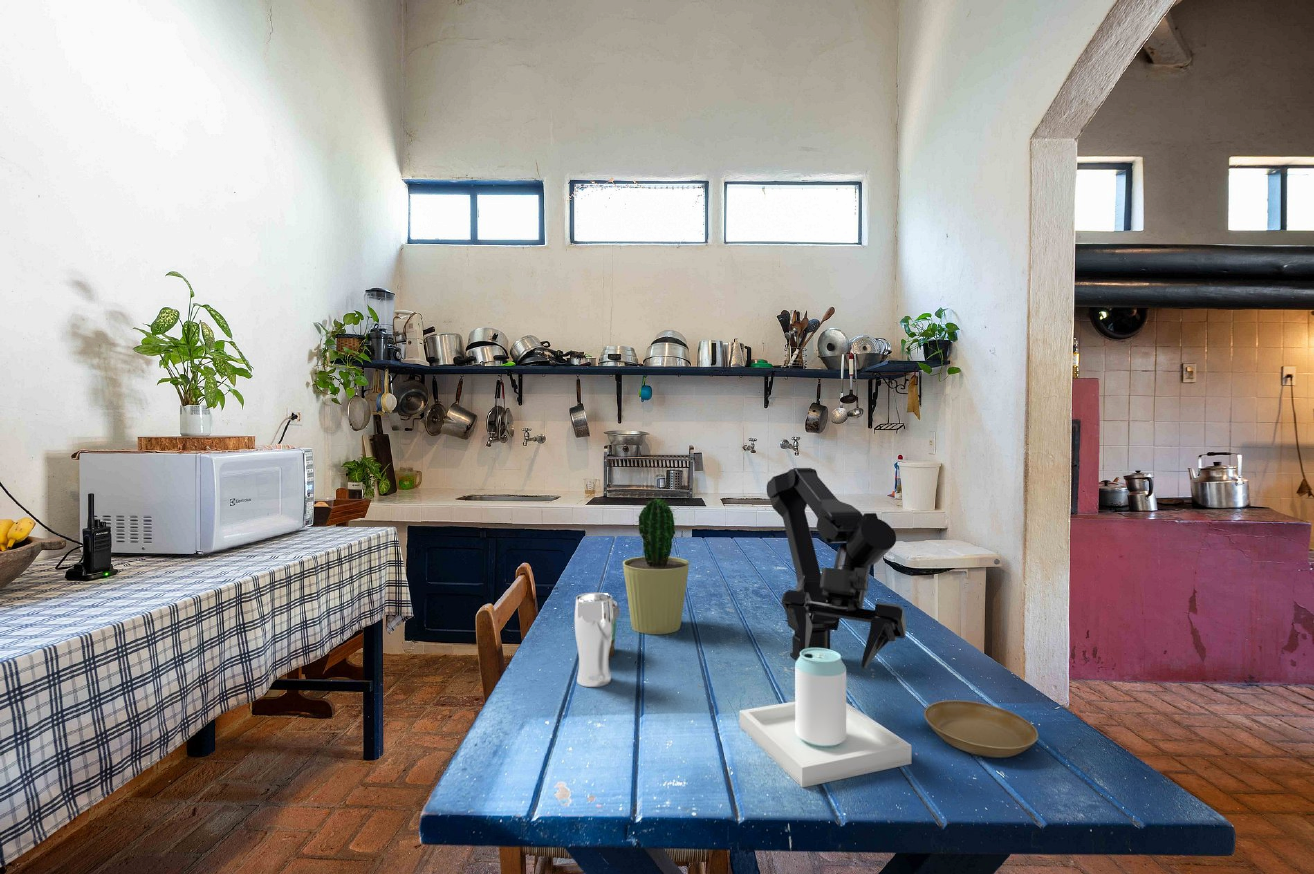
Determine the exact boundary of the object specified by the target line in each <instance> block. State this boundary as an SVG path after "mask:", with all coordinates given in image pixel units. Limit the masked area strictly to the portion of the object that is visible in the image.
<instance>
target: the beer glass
mask: <svg viewBox="0 0 1314 874" xmlns="http://www.w3.org/2000/svg"><path fill="white" fill-rule="evenodd" d="M612 600H613V595H611V594H610V593H605V592H585V593H581V594H578V595H577V596H576V597H575V607H574V633H575V635H574V636H575V641H576V645H577V652H578V653H577V654H578V670H577V677H576V683H577V684H578V685H579V686H581V687H585V688H599V687H603V686H606V685H608V684H609V683H610V682H611V681H612V676H611V670H610V665H609V664H610V660H609V659H610V658H609V652H610V646H611V640H612V634H613V622H614V617H613V601H612Z"/></svg>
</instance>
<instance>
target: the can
mask: <svg viewBox="0 0 1314 874" xmlns="http://www.w3.org/2000/svg"><path fill="white" fill-rule="evenodd" d="M794 666H795V667H794V669H795V670H794V674H795V675H794V693H795V695H794V702H795V732H796V734H797V735H798V736H799V737H800V738H801V739H802V740H803V741H804V742H806V743H808V744H810V745H812V746H816V747H823V748H829V747H834V746H837V745H838V744H840V743H842V742H843V741H844V740H845V739H846V703H847V667H846V665H845V663H844V662H843V660H842V655H841V654H840V653H839V652H837V651H835V650H833V649H831V648H830V649H825V648H807V649H804V650H802V651H801V652H800V657H799V658H798V660H795V663H794Z"/></svg>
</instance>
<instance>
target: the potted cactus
mask: <svg viewBox="0 0 1314 874" xmlns="http://www.w3.org/2000/svg"><path fill="white" fill-rule="evenodd" d="M646 503H647V504H645V506H644V507H641V511H640V512H639V513H637V518H638V520H637V521H635V523H638V525H637V527H636V528H638V531H635V534H636V533H638V535H639V537H641V538H639V541H640V540H641V541H642V542H641V546H642V548H641V549H642V551H643V555H644V556H637V557H631V558H627V559H624V561H622V565H623V576H624V581H625V588H626V595H627V603H628V610H629V616H630V617H629V618H630V625H631V628H632V630H633V631H635V632H638V633H640V634H646V635H667V634H671V633H674V632H678V631H679V630H680V628H681V625H682V619H683V611H684V603H685V597H686V589H687V583H688V578H689V577H688V575H689V569H690V562H689V560H686V559H683V558H681V557H674V556H671V554H673V552H672V548H673V547H674V545H673V543H674V540H675V539H676V540H678V536H677V534H676V533H677V532H676V531H677V530H678V529H676V528H675V527H676V525H675V520H677V519H678V518H677V517H674V516H675V513H674V512H675V509H673V508H672V507H671V506H669V505H668V502H667V501H666V500H664V499H662V498H656V497H654V498H652V500H647V501H646Z"/></svg>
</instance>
